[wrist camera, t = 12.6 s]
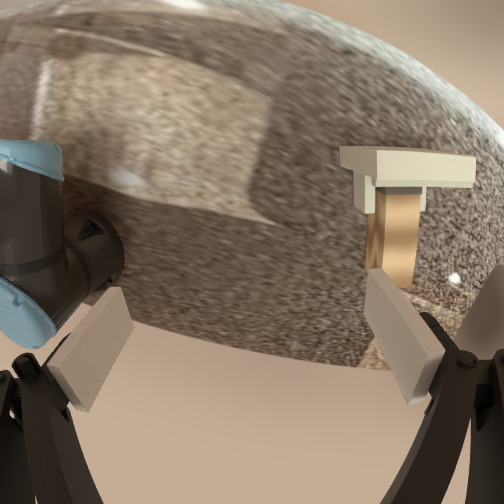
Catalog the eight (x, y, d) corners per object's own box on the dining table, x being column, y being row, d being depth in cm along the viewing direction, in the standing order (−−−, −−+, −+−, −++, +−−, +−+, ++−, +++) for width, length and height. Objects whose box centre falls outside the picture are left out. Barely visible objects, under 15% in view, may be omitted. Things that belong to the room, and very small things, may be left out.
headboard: (341, 206, 41) (375, 236, 28) (339, 145, 38) (376, 150, 25) (419, 203, 40) (470, 229, 27) (420, 148, 37) (475, 157, 24)
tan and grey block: (394, 266, 45) (412, 286, 38) (363, 270, 45) (379, 291, 38) (399, 172, 39) (422, 179, 32) (366, 172, 39) (385, 179, 32)
